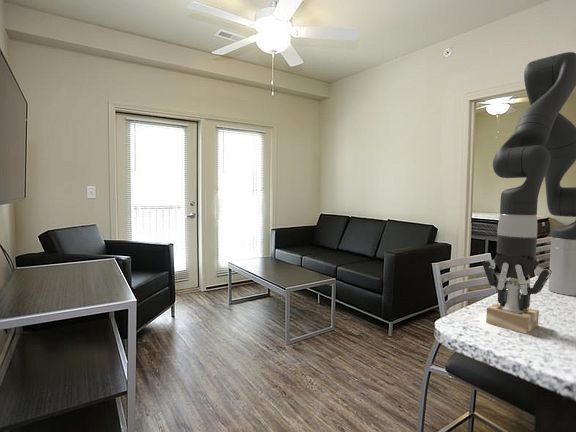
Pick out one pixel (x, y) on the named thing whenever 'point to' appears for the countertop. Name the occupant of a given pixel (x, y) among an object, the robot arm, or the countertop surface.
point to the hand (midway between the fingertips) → (512, 307)
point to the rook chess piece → (513, 298)
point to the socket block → (512, 318)
